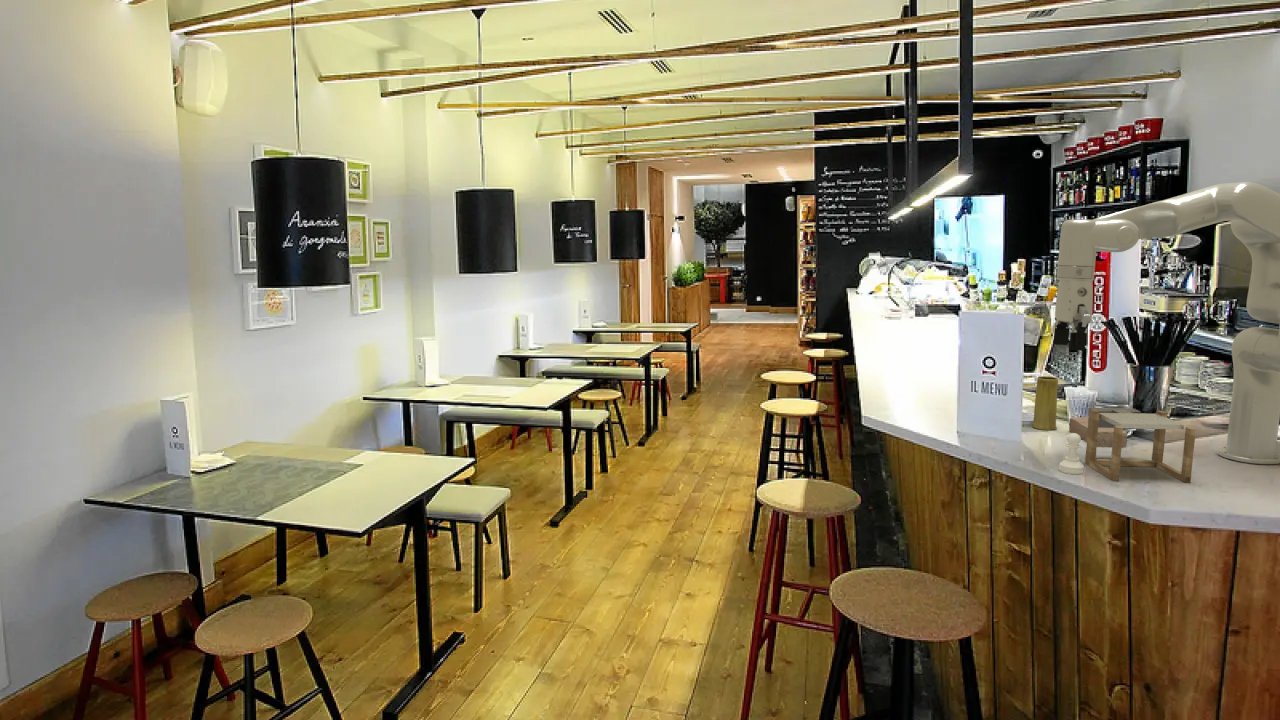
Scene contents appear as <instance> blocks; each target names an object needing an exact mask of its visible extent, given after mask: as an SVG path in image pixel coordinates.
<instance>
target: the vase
mask: <svg viewBox="0 0 1280 720" xmlns="http://www.w3.org/2000/svg"><path fill="white" fill-rule="evenodd" d="M1058 386H1059V377H1056V376H1046V375H1045V376H1044V375H1043V376H1037V377H1036V386H1035V389H1036V390H1035V399H1034V408H1033V410H1034V411H1033V421H1032V425H1031V426H1032V428H1033V429H1036V430H1042V431H1054V430H1057V409H1058V408H1057V407H1058V405H1057V404H1058V401H1057V400H1058V388H1059V387H1058Z"/></svg>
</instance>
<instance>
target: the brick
mask: <svg viewBox="0 0 1280 720" xmlns="http://www.w3.org/2000/svg"><path fill="white" fill-rule="evenodd" d="M1068 429H1069V433H1070V434H1071V433H1076V434H1078V435H1079V436H1080V437H1081V441H1082V440H1083V442H1086V443H1087V433H1088V416H1082V417H1081V416H1077V417H1073V416H1071V417H1070V419H1069V426H1068ZM1113 433H1114V428H1098V436H1097V448H1112V445H1113ZM1127 444H1128V432H1126V431H1125V430H1123V438H1122V448H1123V449H1125V448H1127Z"/></svg>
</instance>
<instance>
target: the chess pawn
mask: <svg viewBox="0 0 1280 720" xmlns="http://www.w3.org/2000/svg"><path fill="white" fill-rule="evenodd" d="M1066 441H1067V444H1066V445H1065V446H1066V447H1068V453H1067V455H1066V456H1064V458H1065V459H1064V460H1062V461H1061V462H1059V467H1058V470H1059V471H1060V472H1061V473H1064V474H1067V475H1068V474H1069V475H1083V474H1084V473H1085V466H1084V464H1083V463H1082V462H1081V461H1080V460H1081V459H1080V457H1079V456H1078V449H1079V448H1081V446H1080V443H1081V441H1082V439H1081V437H1080V436H1079V435H1078V434H1076V433H1071V432H1070V433H1069V434H1068V435H1067V437H1066Z"/></svg>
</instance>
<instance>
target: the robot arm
mask: <svg viewBox="0 0 1280 720" xmlns="http://www.w3.org/2000/svg"><path fill="white" fill-rule="evenodd" d="M1226 221H1229V222H1230V229H1231V232H1232V234H1233V235H1234V236H1235V238H1237V240H1239V241H1240V243H1242V244H1243V245H1244V246H1245V247H1246V249H1247V250H1248V252H1249V254H1250V256H1251V263H1252V264H1251V273H1250V278H1249V279H1250V280H1249V285H1248V291H1247V298H1246V306H1245V307H1246V311H1247V313H1248V315H1249V316H1250V318H1252V319H1254V320H1257V321H1260V322H1267V323H1273V324H1279V325H1280V193H1278V192H1276V191H1275V190H1272V189H1270V188H1268V187H1267V186H1264V185H1262V184H1259V183H1256V182H1252V181H1239V182H1238V181H1237V182H1236V181H1235V182H1226V183H1225V182H1224V183H1217V184H1214V185H1210V186H1207V187H1206V186H1205V187H1203V188H1200V189H1196V190H1193V191H1190V192H1186V193H1183V194H1180V195H1177V196H1173V197H1170V198H1166V199H1163V200H1159V201H1155V202H1154V201H1153V202H1152V203H1148V204H1145V205H1141V206H1137V207H1133V208H1129V209H1128V208H1127V209H1125V210H1121V211H1117V212H1114V213H1110V214H1106V215H1103V216H1099V217H1097V218H1093V219H1067V220H1064V222H1063V223H1062V224H1061V228H1060V237H1059V239H1060V240H1059V252H1058V261H1057V270H1056V280H1058V287H1057V293H1056V298H1055V299H1056V300H1055V312H1054V320H1055V322H1054V326H1053V327H1054V332H1053V345H1056V346H1058V345H1059V346H1068V345H1069V347H1068V349H1069V350H1070V351H1080V352H1081V351H1085V350H1086V344H1087V343H1086V341H1087V333H1088V328H1089V325H1090V323H1091V322H1092V320H1093V303H1094V302H1093V301H1094V300H1093V299H1094V297H1093V296H1094V294H1093V293H1094V292H1093V291H1094V290H1093V282H1094V280H1095V270H1096V269H1095V268H1096V258H1097V252H1098V253H1099V252H1101V253H1105V252H1106V253H1123V252H1126V251H1129V250H1130V249H1132V248H1133V247H1135V246H1136V244H1138V242H1139V240H1143V239H1155V238H1157V239H1159V238H1166V237H1167V238H1168V237H1173V236H1178V235H1180V234H1181V235H1182V234H1184V233H1187V232H1191V231H1194V230H1197V229H1201V228H1203V227H1207V226H1210V225H1214V224H1217V223H1220V222H1222V223H1223V222H1226ZM1069 326H1070V327H1071V330H1072V332H1070V327H1069ZM1231 358H1232V363H1233V364H1232V365H1233V381H1232V391H1231V400H1230V401H1231V402H1230V410H1229V420H1228V427H1227V438H1226V446H1221V447H1219V448H1218V449H1217V454H1218V455H1219V456H1220V457H1223V458H1225V459H1229V460H1231V461H1232V460H1233V461H1237V462H1240V463H1247V464H1248V463H1249V464H1255V465H1256V464H1257V465H1258V464H1259V465H1279V464H1280V441H1279V440H1278V435H1279V434H1278V433H1279V426H1280V326H1279V329H1278V328H1271V327H1263V326H1254V327H1249V328H1245V329H1243V330H1242V331H1240V332H1239V333H1237V334H1236V336H1235V338H1233V340H1232V343H1231Z"/></svg>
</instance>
